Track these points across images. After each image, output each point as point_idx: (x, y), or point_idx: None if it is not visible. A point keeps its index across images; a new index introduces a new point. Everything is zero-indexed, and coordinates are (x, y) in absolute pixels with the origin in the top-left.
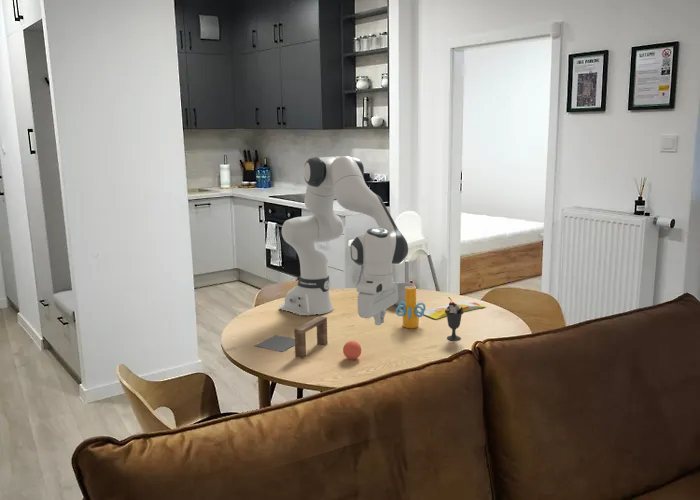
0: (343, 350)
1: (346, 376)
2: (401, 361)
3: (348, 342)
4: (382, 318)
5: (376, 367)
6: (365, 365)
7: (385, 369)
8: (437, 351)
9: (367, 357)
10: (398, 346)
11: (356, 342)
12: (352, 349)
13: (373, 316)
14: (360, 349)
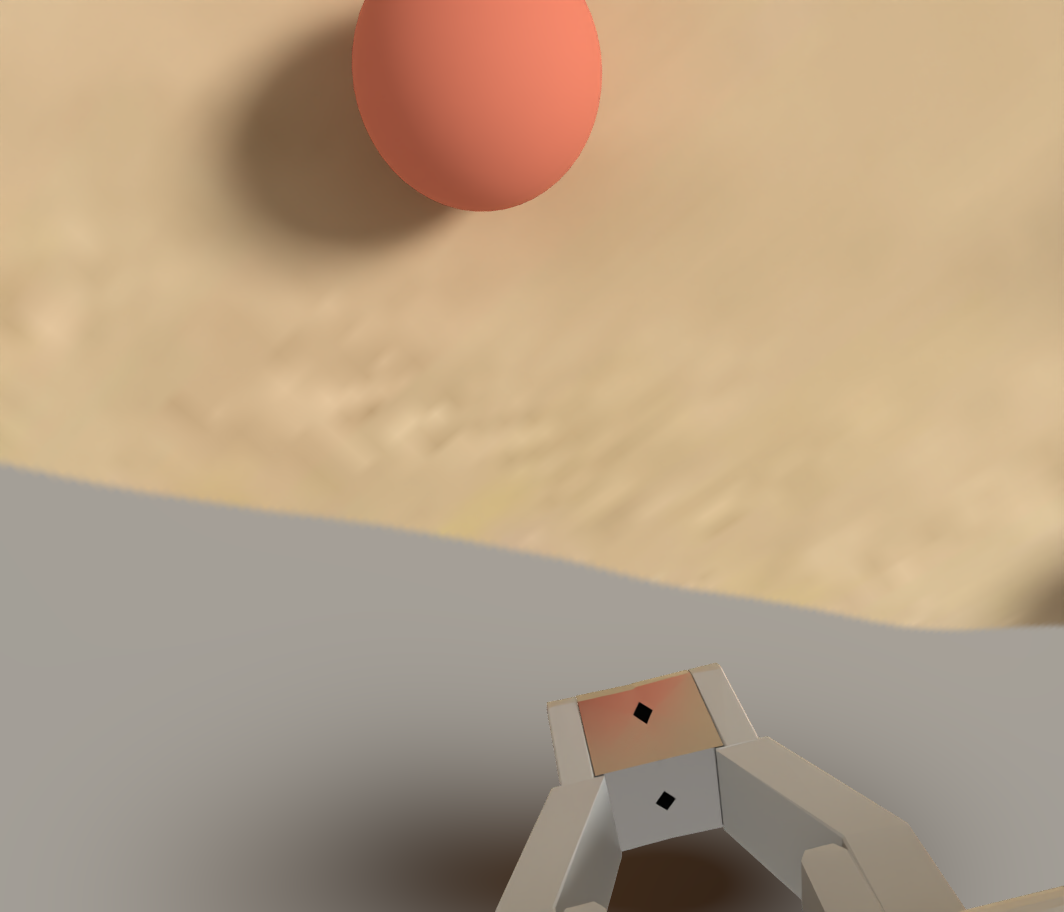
0: (364, 1)
1: (120, 366)
2: (705, 491)
3: (436, 30)
4: (704, 828)
5: (473, 427)
6: (438, 325)
7: (491, 504)
8: (1016, 555)
9: (608, 198)
10: (1012, 251)
11: (528, 129)
12: (401, 166)
13: (513, 884)
14: (519, 203)
